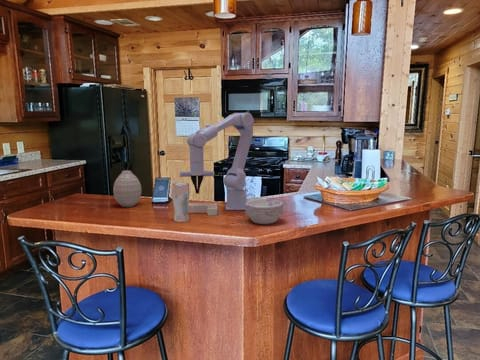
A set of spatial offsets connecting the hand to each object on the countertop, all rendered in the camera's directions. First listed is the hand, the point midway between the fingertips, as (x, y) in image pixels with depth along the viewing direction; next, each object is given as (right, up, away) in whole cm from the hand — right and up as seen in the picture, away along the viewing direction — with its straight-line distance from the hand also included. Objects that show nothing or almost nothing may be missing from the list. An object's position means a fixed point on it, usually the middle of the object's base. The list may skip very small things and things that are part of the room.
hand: (197, 193), depth 159 cm
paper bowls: (+28, -11, -10) cm, 32 cm away
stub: (+6, -9, +2) cm, 11 cm away
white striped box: (+1, -8, +7) cm, 11 cm away
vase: (-35, -7, +18) cm, 40 cm away
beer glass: (-6, -11, -8) cm, 15 cm away
